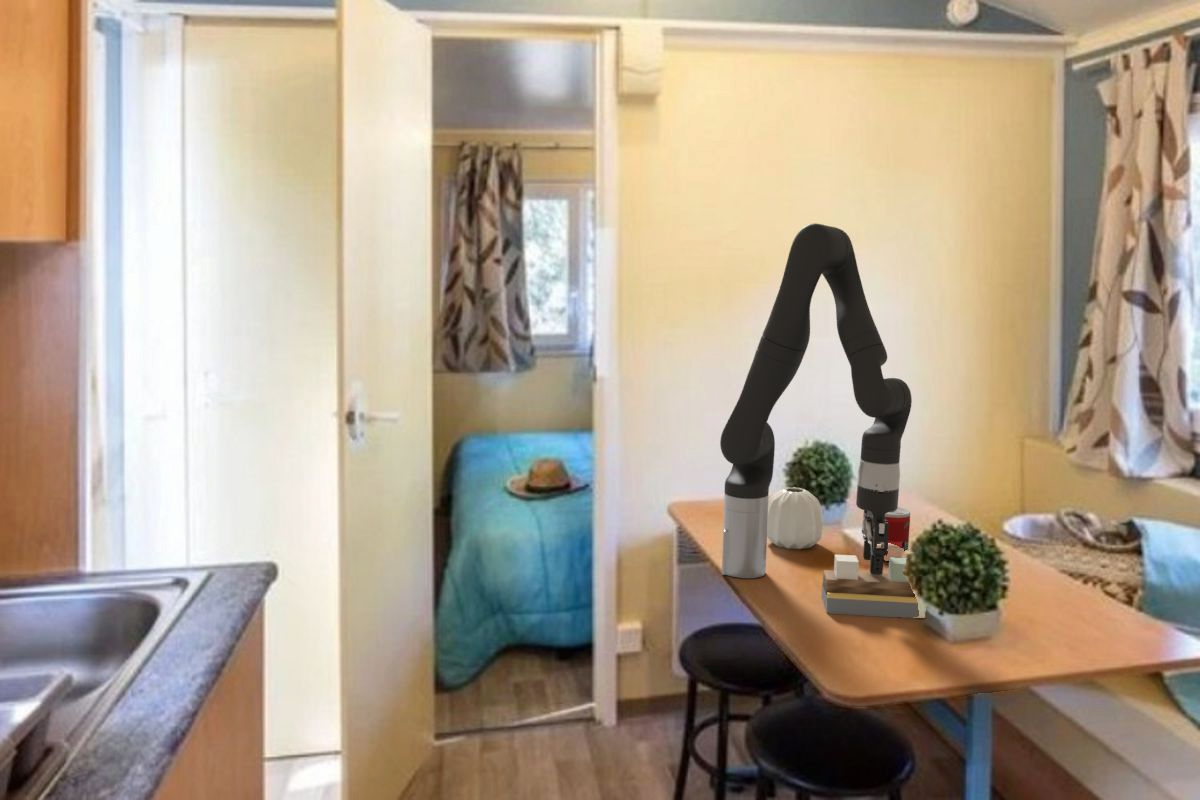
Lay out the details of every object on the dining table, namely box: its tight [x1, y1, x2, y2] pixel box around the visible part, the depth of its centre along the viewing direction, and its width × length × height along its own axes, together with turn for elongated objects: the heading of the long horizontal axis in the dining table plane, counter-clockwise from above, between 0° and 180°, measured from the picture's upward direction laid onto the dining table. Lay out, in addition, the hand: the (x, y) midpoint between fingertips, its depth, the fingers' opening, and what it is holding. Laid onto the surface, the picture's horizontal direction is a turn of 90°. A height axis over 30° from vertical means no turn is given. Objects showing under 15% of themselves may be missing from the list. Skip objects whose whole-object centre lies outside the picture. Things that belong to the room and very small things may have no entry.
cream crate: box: [833, 554, 860, 580], centre depth 171 cm, size 4×4×4 cm
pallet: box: [822, 569, 915, 597], centre depth 171 cm, size 18×6×3 cm, turn 82°
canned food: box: [885, 506, 911, 551], centre depth 202 cm, size 8×8×11 cm
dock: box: [821, 581, 919, 619], centre depth 171 cm, size 18×9×4 cm, turn 82°
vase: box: [767, 486, 824, 550], centre depth 211 cm, size 14×14×13 cm
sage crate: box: [887, 557, 908, 582], centre depth 170 cm, size 4×4×4 cm
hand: (872, 566), depth 171 cm, fingers open, 8 cm apart
